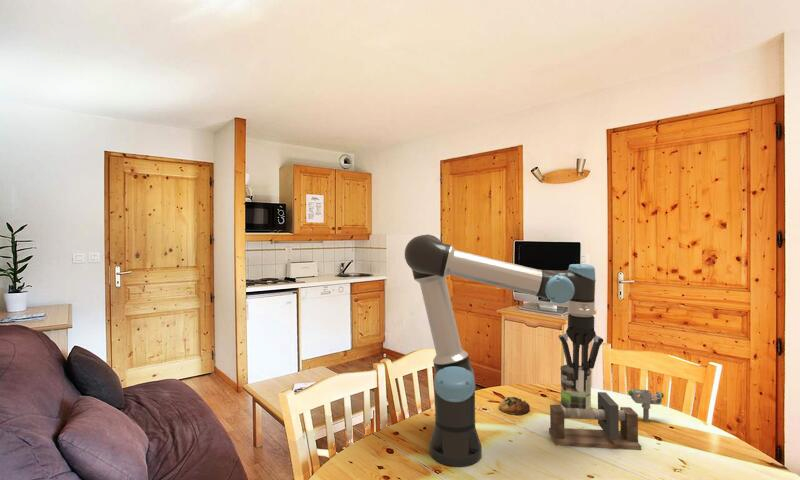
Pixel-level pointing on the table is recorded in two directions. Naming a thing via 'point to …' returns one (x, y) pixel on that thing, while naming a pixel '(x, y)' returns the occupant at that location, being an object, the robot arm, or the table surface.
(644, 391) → the mechanical component
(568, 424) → the table surface
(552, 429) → the pipe rig
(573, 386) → the coffee can
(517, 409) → the bread roll
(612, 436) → the dark grey square plate
